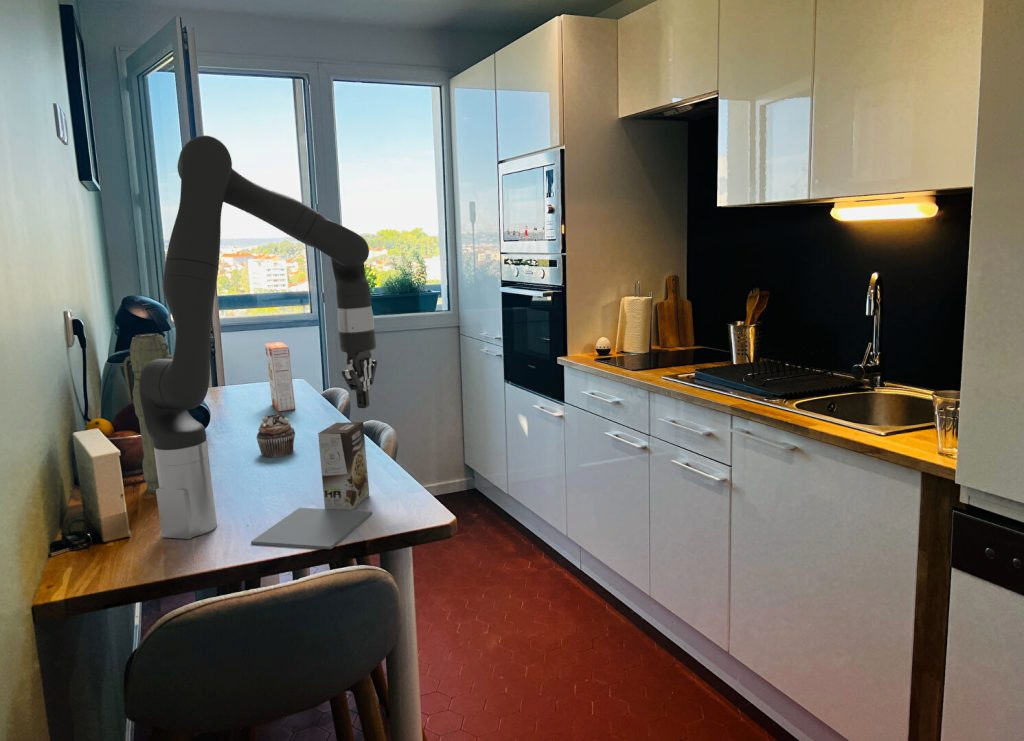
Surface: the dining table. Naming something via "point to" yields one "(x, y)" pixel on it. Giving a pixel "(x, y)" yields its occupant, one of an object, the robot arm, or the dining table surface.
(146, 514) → the dining table surface
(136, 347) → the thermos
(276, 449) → the cupcake
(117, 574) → the dining table surface
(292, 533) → the mat
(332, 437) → the coffee box
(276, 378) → the cracker box
